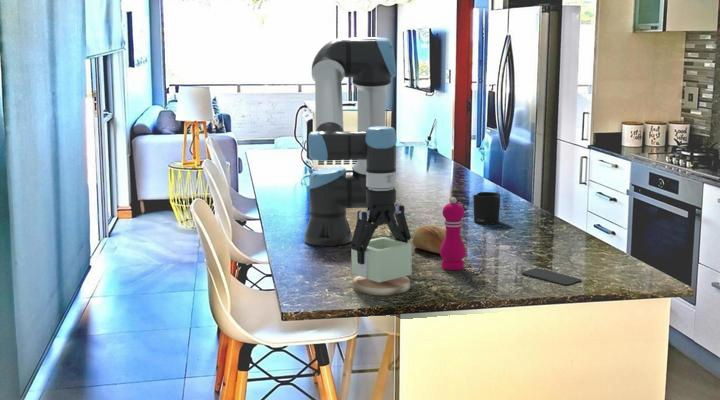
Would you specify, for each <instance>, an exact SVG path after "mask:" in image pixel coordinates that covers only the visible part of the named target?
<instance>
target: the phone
mask: <svg viewBox="0 0 720 400" xmlns="http://www.w3.org/2000/svg"><path fill="white" fill-rule="evenodd" d="M521 275H522V276H523V277H528V276H529V278H533V279H536V280H540V281H544V282H548V281H549V282H548V283H552V284H557V285H560V286H566V287H567V286H572V285H575V284H577V283H578V284H579V283H581V282H582V279H581V278H578V277H574V276H570V275H567V274H563V273H558V272H555V271H551V270H547V269H543V268H539V267H538V268H537V267H534V268H531V269H528V270H527V269H526V270H524V271H522V272H521Z"/></svg>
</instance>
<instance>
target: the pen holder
mask: <svg viewBox="0 0 720 400" xmlns="http://www.w3.org/2000/svg"><path fill="white" fill-rule="evenodd" d="M472 197H473V221H474V223H476V224H479V225H496V224H497V223H499V221H500V220H499V219H500V206H501V194H500V193H498V192H493V191H480V192H478V193H476V194H473V195H472Z"/></svg>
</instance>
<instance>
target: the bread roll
mask: <svg viewBox="0 0 720 400" xmlns="http://www.w3.org/2000/svg"><path fill="white" fill-rule="evenodd" d="M445 235H446V228H445V229H444V228H443V227H441V226H438V225H433V224H432V225H431V224H429V225H421V226H419V227H417V229H415V231H414V233H413V237H412V244H413V246H414V247H415V248H416V249H420V250H423V251H427V252H431V253H434V254H439V255H440V248H441V245H442V243H443V241H444V238H445Z"/></svg>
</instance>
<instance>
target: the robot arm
mask: <svg viewBox="0 0 720 400" xmlns="http://www.w3.org/2000/svg"><path fill="white" fill-rule="evenodd" d="M395 59H396V58H395V51H394V46H393V43H392V40H390V39H389V38H388V37H379V36H378V37H377V36H374V37H373V36H371V37H367V36H366V37H338V38H335V39H332V40H331V41H328V42H327V43H325V45H323V47H321V48H320V50H318V52H317V53H316V54H315V56H314V59H313V61H312V65H311V77H312V80H313V82H314V83H315V84H314V85H315V86H314V90H315V92H314V93H315V96H314V97H315V103H314V104H315V107H314V108H315V109H314V110H315V131H310V132H309V133H308V143H307V144H308V157H309V159H310V160H312V161H324V162H326V161H357V162H355V164H354V165H352V171H347V169H346V168H345V167H343V166H336V167H335V166H334V167H326V168H321V169H318V170H317V169H316V170H315V171H312V173H311V174H310V175H309V179H308V180H309V182H308V183H309V184H308V189H309V220H308V223H307V225H306V226H307V227H306V231H305V233H304V242H305V243H306V244H308V245H311V246H312V245H313V246H320V247H330V246H331V247H333V246H343V245H347V244H349V243H350V246H349V247H350V250H351V249H353V250H356V251H357V262H358V264H359V275H361V276H364V277H368V252H367V251H366V248H367V246H368V244H369V242H370V240H371V239H373V238H372V237H373V235H374V233H375V231H376V229H378V228H379V226H382V225H386V226H387V227H388V229H389V230H390V233H391V234H392V236H393V238H394V240H398V241H401V242H405V243H408V244H409V241H411V238H412V236H411V233H410V230H409V226H408V222H407V218H406V215H405V205H401V204H396V202H397V189H396V186H397V168H396V165H397V164H396V161H397V155H396V154H397V142H398V141H397V137H396V134H397V132H396V129H395V128H394V127H391V126H387V125H386V106H387V105H386V100H387V99H386V95H387V94H386V92H387V91H386V90H387V88H388V87H389V86H390V85H391V84H392V78H395V77H397V76H396V75H397V72H396V71H397V68H396V60H395ZM344 78H352V79H351V81H352V85H354V87H356V89H357V131H355V130H354V131H352V130H351V131H350V130H349V131H348V130H346V131H344V111H343V109H344V108H343V83H342V82H343V80H344ZM347 209H366V210H363V211H361V210H358V211H357V212H356V214H357V216H356V218H357V219H356V223H355V228H354V231H353V235H352V231H351V230H352V229H351V226H350V224H349V222H348V219H347ZM394 216H395V217H394Z"/></svg>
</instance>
